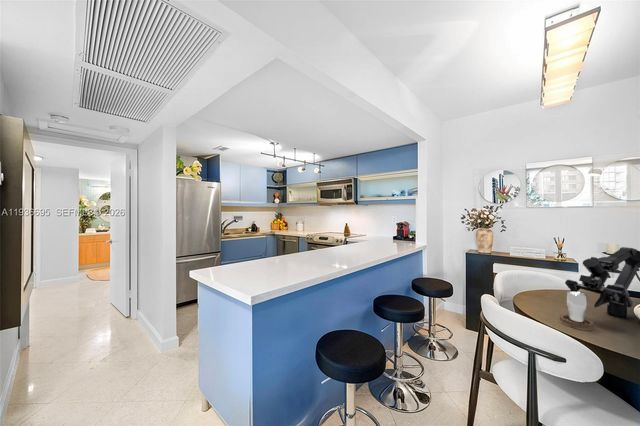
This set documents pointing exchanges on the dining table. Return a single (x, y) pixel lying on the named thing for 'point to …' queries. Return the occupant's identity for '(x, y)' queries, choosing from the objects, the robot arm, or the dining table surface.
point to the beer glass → (576, 306)
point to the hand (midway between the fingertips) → (582, 303)
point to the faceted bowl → (586, 326)
